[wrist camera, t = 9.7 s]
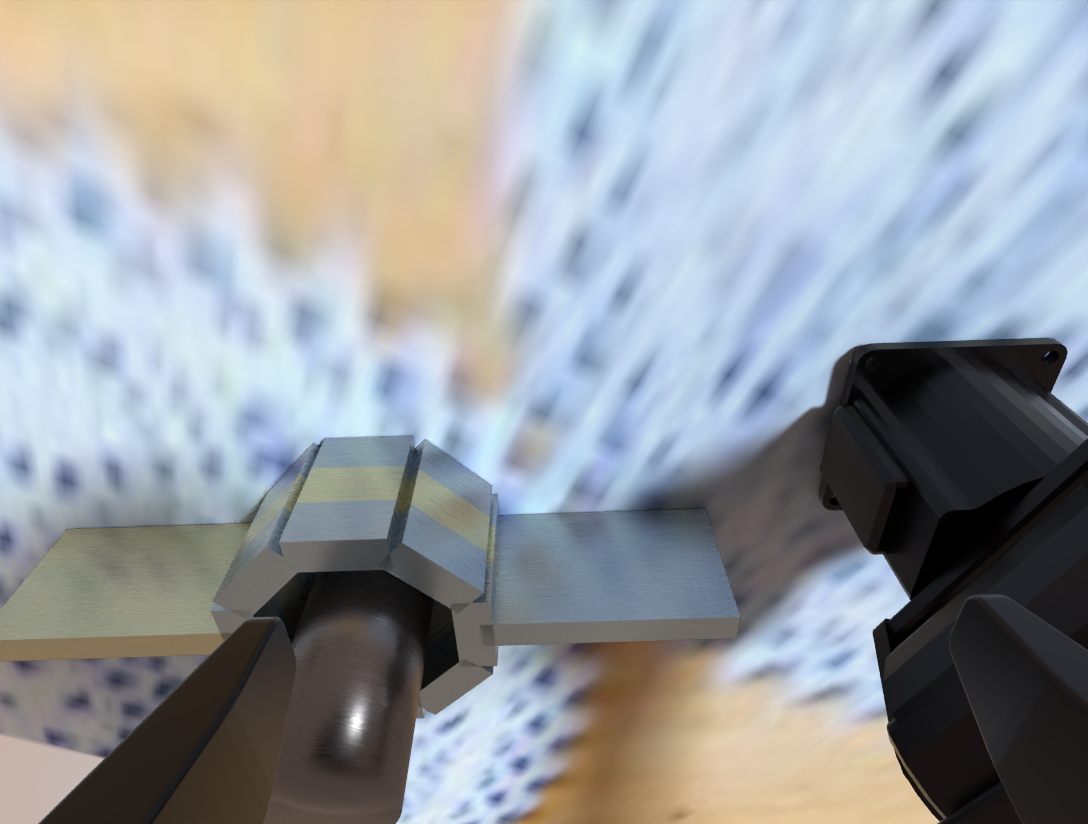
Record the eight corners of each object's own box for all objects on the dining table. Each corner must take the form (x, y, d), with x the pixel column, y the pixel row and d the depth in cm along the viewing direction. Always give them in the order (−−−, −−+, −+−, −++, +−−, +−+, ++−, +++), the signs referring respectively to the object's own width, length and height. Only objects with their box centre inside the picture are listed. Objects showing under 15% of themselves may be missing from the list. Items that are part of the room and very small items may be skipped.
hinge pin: (437, 486, 24) (388, 756, 16) (449, 566, 27) (412, 841, 18) (326, 489, 24) (219, 762, 16) (346, 569, 27) (262, 846, 18)
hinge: (716, 425, 23) (757, 526, 19) (693, 596, 28) (722, 708, 23) (22, 448, 23) (-91, 553, 19) (114, 615, 28) (40, 730, 24)
